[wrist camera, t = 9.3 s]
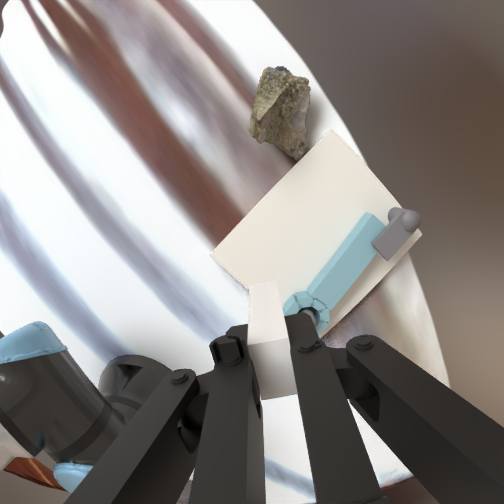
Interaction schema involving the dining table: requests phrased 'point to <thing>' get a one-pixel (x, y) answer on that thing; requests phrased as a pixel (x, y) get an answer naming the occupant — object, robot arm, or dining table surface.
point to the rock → (281, 111)
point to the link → (338, 272)
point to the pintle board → (317, 227)
